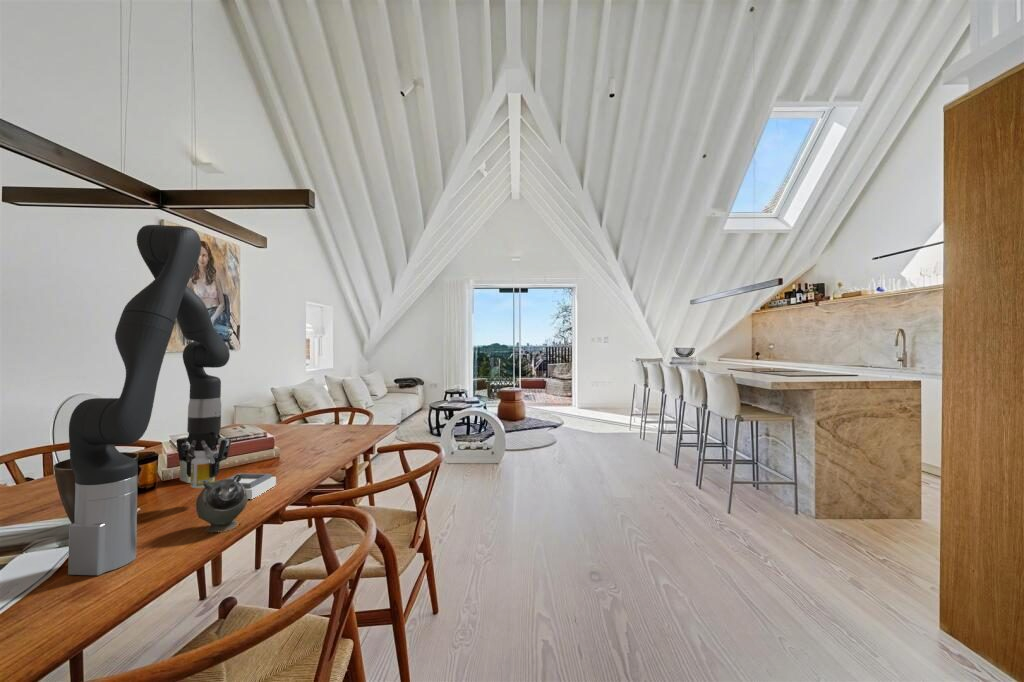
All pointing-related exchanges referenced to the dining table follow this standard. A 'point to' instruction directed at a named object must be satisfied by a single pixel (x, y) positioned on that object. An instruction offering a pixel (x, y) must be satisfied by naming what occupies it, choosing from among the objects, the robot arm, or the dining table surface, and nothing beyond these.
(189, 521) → the dining table surface
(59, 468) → the plant pot
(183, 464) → the skincare box
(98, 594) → the dining table surface
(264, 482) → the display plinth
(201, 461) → the supplement bottle
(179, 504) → the dining table surface
